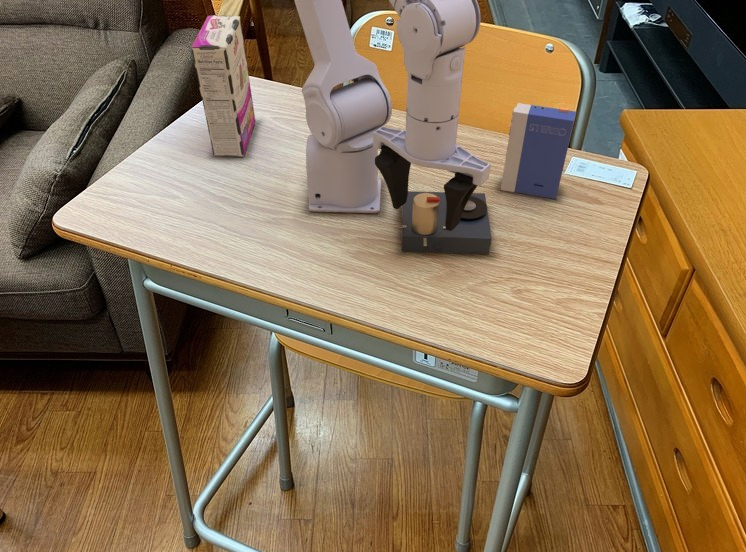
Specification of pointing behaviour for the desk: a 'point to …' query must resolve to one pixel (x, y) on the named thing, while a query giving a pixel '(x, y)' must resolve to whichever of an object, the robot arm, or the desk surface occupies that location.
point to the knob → (425, 213)
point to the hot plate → (445, 231)
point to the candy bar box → (224, 85)
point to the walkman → (537, 149)
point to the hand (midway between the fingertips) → (425, 215)
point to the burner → (474, 209)
